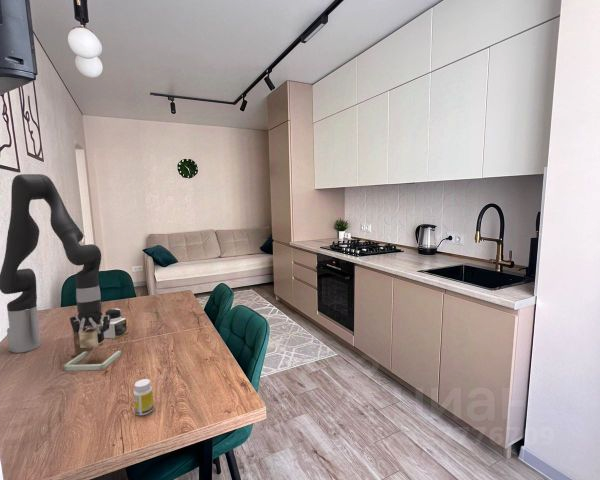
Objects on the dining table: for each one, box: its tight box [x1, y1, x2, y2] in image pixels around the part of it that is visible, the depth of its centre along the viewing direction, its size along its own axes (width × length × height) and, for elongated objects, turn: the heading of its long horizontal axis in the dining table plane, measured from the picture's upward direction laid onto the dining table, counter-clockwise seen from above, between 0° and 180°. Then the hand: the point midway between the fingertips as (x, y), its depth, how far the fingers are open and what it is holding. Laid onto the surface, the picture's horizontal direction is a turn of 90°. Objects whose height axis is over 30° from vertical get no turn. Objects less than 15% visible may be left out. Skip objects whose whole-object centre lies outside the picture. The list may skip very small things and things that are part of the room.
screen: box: [70, 320, 104, 359], centre depth 132 cm, size 5×13×13 cm, turn 1°
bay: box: [61, 350, 122, 372], centre depth 122 cm, size 14×12×2 cm
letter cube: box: [79, 328, 105, 348], centre depth 122 cm, size 6×6×6 cm
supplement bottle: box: [133, 378, 154, 416], centre depth 92 cm, size 5×5×8 cm
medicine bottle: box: [101, 308, 128, 340], centre depth 148 cm, size 7×7×12 cm
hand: (92, 342), depth 122 cm, fingers closed on letter cube, 5 cm apart
